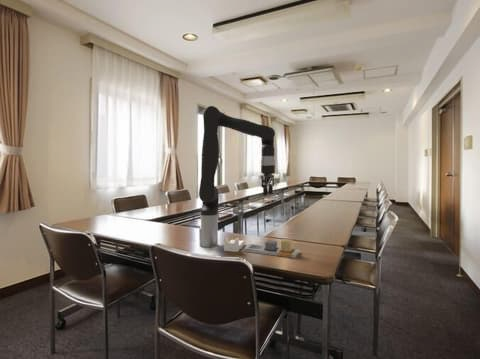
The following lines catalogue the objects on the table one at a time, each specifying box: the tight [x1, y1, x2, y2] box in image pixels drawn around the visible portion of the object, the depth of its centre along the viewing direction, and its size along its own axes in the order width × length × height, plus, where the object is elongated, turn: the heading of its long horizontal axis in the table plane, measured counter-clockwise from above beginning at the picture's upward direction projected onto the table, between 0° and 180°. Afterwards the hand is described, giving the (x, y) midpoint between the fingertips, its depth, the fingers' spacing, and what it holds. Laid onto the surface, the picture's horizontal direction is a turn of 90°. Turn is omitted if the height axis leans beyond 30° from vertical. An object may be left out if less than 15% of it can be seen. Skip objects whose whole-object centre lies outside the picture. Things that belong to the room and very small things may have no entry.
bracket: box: [223, 236, 245, 253], centre depth 144 cm, size 13×7×8 cm, turn 164°
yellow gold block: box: [280, 238, 294, 253], centre depth 132 cm, size 4×4×6 cm
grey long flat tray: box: [243, 243, 300, 259], centre depth 136 cm, size 26×9×3 cm, turn 65°
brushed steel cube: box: [264, 240, 278, 252], centre depth 136 cm, size 4×4×5 cm
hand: (268, 194), depth 149 cm, fingers open, 8 cm apart
